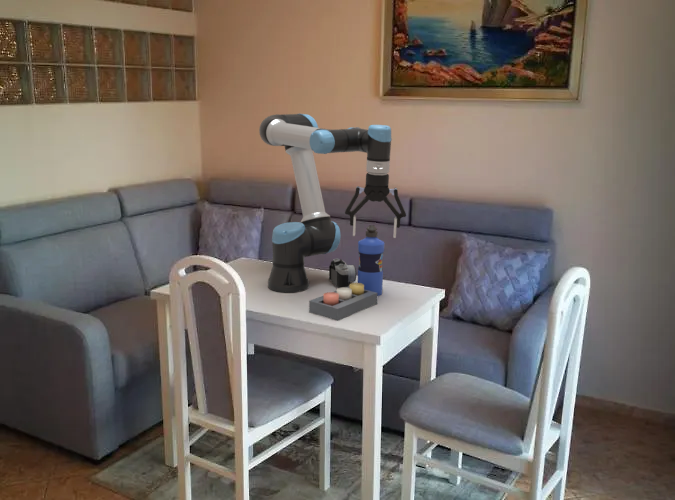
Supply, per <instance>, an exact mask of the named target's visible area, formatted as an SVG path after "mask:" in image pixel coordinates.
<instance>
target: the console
mask: <svg viewBox="0 0 675 500" xmlns="http://www.w3.org/2000/svg"><path fill="white" fill-rule="evenodd" d="M346 288H350V285H348V287H346ZM333 292H335V293H337V290H335V291H334V290H333ZM378 297H379V296H378V293H376V292H372V291H368V290H365V289H364V294H362V295H359V296H357V295H353V294H352V299H349V300H346V301H345V300H341V299H339V304H336V305H334V306H330V305H327V304H323V295H321V296H318V297H316V298H313V299H310V300H309V301H308V307H309V308H308V313H311V314H313V315H317V316H320V317H323V318H327V319H331V320H332V321H333V320H334V321H337V322H339V321H340V320H343V319H345V318H347V317H350V316H352V315H355V314H357V313H359V312H361V311H364V310H365V309H369V308H371V307H372V306H375V305H378Z"/></svg>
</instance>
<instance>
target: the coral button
mask: <svg viewBox="0 0 675 500" xmlns="http://www.w3.org/2000/svg"><path fill="white" fill-rule="evenodd" d="M322 296H323V304H327V305H330V306H334V305H336V304H339V294H338V293H335V292H334V291H327V292H324V293H323V294H322Z"/></svg>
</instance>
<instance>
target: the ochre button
mask: <svg viewBox="0 0 675 500" xmlns="http://www.w3.org/2000/svg"><path fill="white" fill-rule="evenodd" d="M349 286H350V289H352V294H353V295H357V296H359V295H362V294H364V284H362V283H358V282H350V283H349Z"/></svg>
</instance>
